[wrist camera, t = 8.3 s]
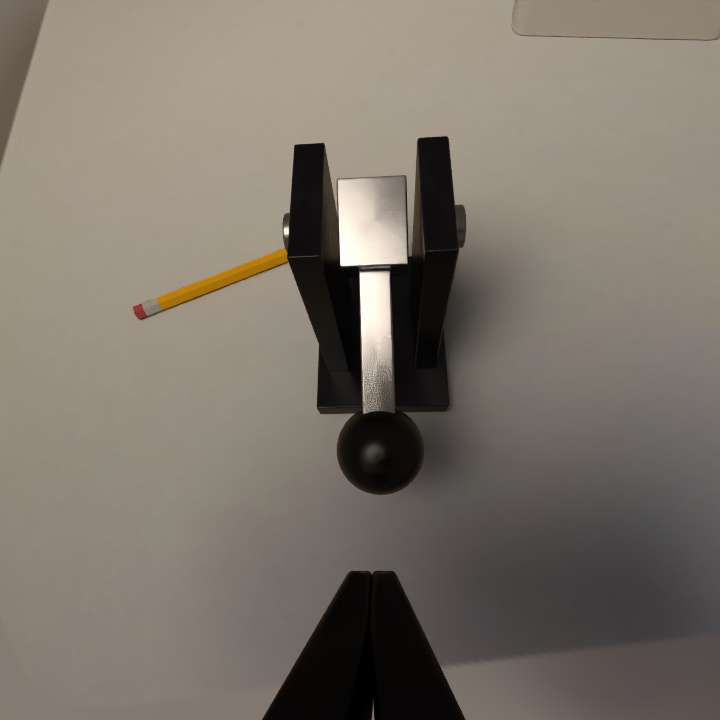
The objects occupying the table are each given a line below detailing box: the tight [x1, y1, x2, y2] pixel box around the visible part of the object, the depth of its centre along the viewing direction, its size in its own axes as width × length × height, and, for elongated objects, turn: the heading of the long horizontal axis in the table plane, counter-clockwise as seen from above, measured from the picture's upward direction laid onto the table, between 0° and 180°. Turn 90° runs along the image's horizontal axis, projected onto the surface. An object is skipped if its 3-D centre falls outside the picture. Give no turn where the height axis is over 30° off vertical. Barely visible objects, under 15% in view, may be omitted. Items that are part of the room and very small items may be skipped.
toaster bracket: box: [283, 136, 466, 414], centre depth 20 cm, size 8×6×10 cm
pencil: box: [133, 248, 288, 319], centre depth 26 cm, size 1×13×1 cm, turn 113°
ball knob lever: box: [337, 175, 424, 495], centre depth 17 cm, size 10×3×3 cm, turn 0°
